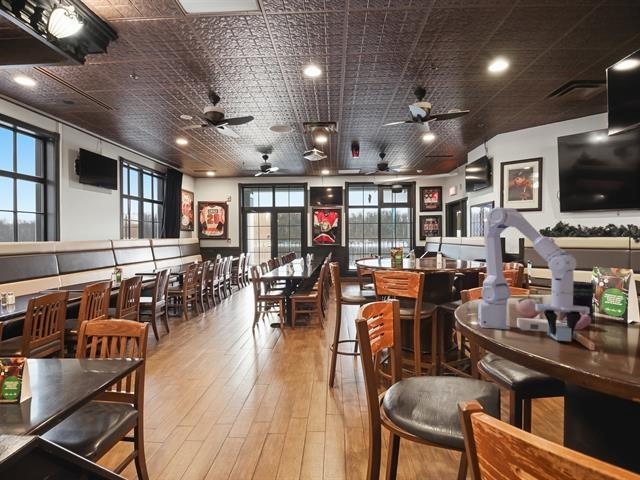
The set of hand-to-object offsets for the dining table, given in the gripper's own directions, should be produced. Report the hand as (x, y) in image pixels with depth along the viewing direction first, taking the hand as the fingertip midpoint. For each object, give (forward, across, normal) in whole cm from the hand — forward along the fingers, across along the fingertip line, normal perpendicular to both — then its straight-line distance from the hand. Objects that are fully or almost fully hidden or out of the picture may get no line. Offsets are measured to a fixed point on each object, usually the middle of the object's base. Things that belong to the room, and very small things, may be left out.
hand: (561, 334), depth 113 cm
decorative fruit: (+3, -1, +30) cm, 30 cm away
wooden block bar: (+2, +6, -1) cm, 6 cm away
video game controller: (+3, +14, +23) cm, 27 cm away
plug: (+1, 0, +2) cm, 2 cm away
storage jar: (+3, +19, +36) cm, 41 cm away
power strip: (+2, 0, +15) cm, 15 cm away
